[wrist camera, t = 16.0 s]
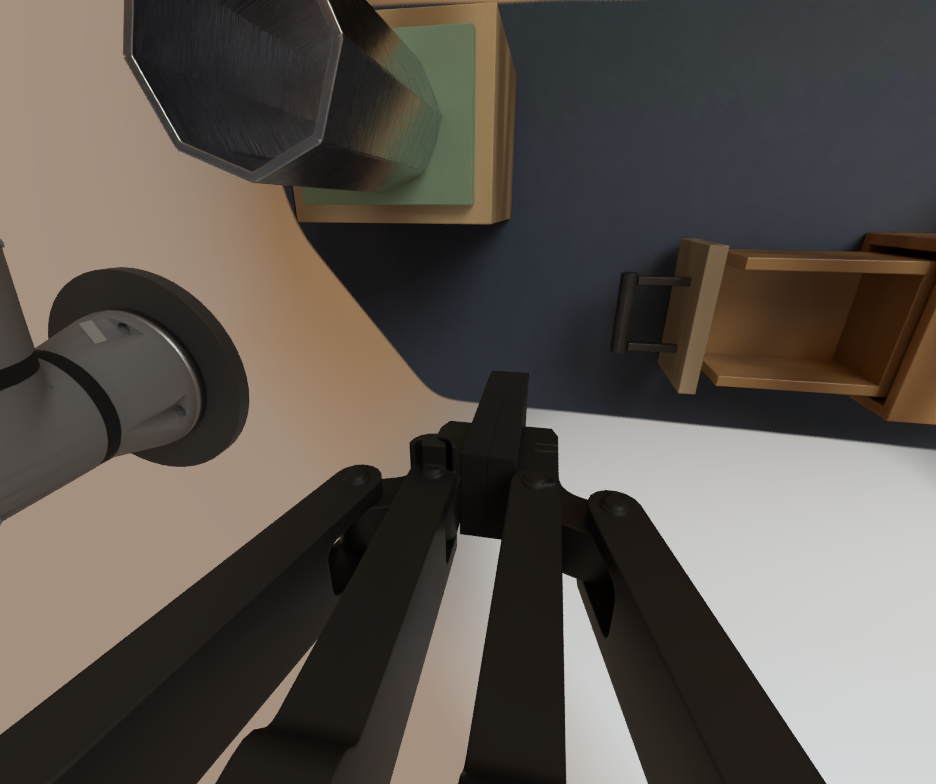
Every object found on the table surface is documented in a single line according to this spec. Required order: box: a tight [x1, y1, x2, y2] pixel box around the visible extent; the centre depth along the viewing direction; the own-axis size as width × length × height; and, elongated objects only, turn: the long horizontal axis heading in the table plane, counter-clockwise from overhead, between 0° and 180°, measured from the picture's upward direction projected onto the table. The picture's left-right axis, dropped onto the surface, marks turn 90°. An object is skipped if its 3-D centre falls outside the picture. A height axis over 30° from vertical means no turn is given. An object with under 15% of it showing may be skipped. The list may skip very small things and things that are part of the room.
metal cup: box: [123, 0, 442, 193], centre depth 18 cm, size 6×6×12 cm
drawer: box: [610, 238, 936, 397], centre depth 32 cm, size 18×10×7 cm, turn 90°
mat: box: [302, 23, 476, 205], centre depth 23 cm, size 10×8×1 cm
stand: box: [293, 2, 517, 224], centre depth 30 cm, size 12×10×13 cm
